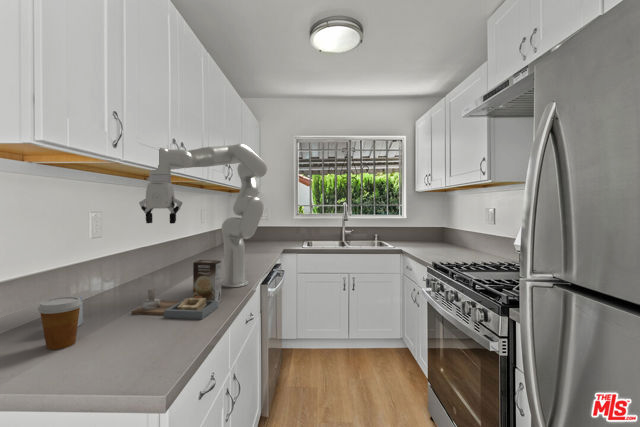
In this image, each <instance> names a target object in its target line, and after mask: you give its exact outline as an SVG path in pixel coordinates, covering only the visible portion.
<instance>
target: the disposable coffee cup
mask: <svg viewBox="0 0 640 427" xmlns="http://www.w3.org/2000/svg"><path fill="white" fill-rule="evenodd" d="M79 297H80V296H79ZM79 297H78V296H61V297H53V298H49V299H46V300H43V301H41V302H40V303H39V307H37V311H38V312H39V314H40V318H41V324H42V331H43V335H44V336H43V337H44V341H45V342H44V343H45V347H46V349H47V350H51V351H52V350H55V351H56V350H61V349H66V348H68V347H71V346H73V345H75V344H76V341H77V331H78V327H79V326H78V318H79V310H80V306H81V304H82V302H81V301H80V298H79ZM77 326H78V327H77Z"/></svg>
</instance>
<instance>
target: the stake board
mask: <svg viewBox="0 0 640 427" xmlns="http://www.w3.org/2000/svg"><path fill="white" fill-rule="evenodd" d="M147 296H148V298H147V299H145V300H142V306H140V307H138V308H135V309H133V310H132V311H131V315H145V316H146V315H148V316H150V315H151V316H165V314H164V310H166V309H168V308H170V307H172V306H173V305H175V304H177V303H179V302H181V301H182V300H163V299H162V300H161V299H160V298H155V288H150V289H147Z"/></svg>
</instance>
